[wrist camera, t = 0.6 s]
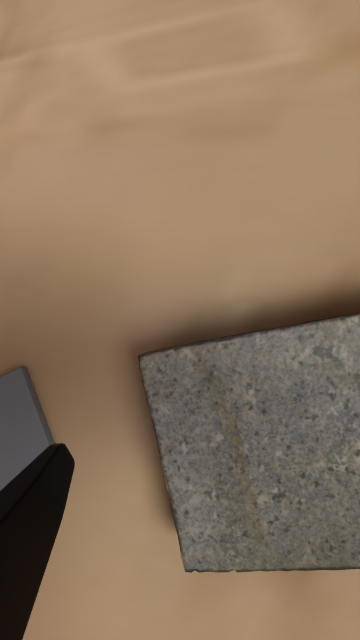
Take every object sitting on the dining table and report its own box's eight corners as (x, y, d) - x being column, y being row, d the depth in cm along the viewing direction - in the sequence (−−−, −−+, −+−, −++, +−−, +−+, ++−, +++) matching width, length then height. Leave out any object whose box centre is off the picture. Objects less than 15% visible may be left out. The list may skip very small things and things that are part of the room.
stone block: (158, 349, 25) (133, 353, 20) (456, 294, 21) (520, 283, 16) (191, 535, 24) (174, 589, 19) (510, 518, 20) (597, 581, 15)
